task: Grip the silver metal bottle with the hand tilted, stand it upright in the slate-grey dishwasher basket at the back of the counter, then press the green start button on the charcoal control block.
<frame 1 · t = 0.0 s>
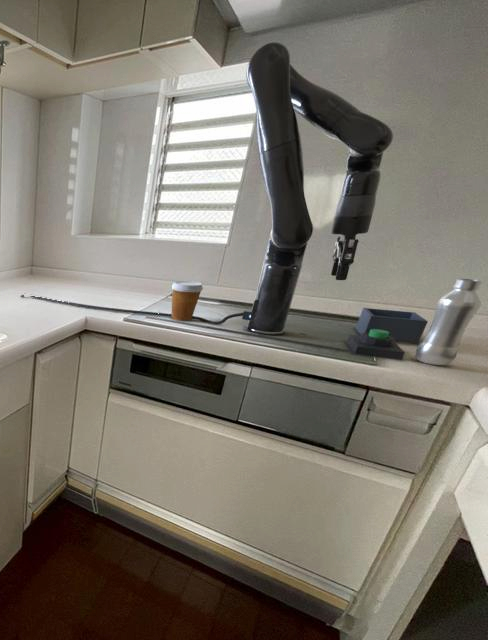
hand: (338, 277, 110), 17 cm above the countertop, tool pointing down, fingers open, 8 cm apart
silver metal bottle: (430, 364, 97), on the countertop
basket: (384, 336, 118), on the countertop
disposable coffee cup: (181, 319, 137), on the countertop
control block: (372, 350, 106), on the countertop
start button: (378, 334, 104), point 5 cm above the countertop, slide at 0.2 cm
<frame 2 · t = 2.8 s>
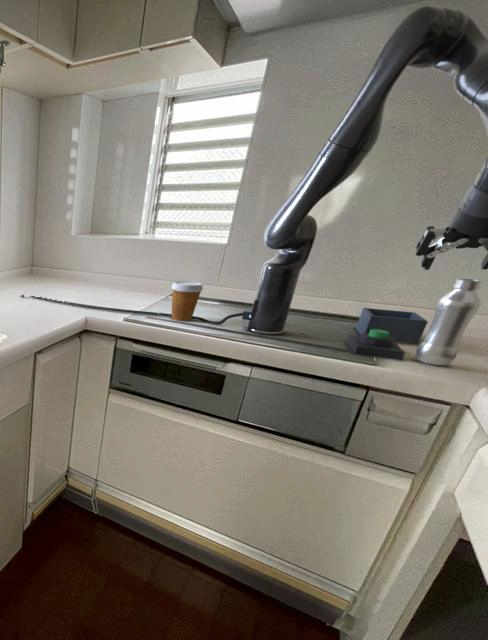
hand: (454, 266, 88), 23 cm above the countertop, tool tilted 40°, fingers open, 8 cm apart
nothing on the countertop moved.
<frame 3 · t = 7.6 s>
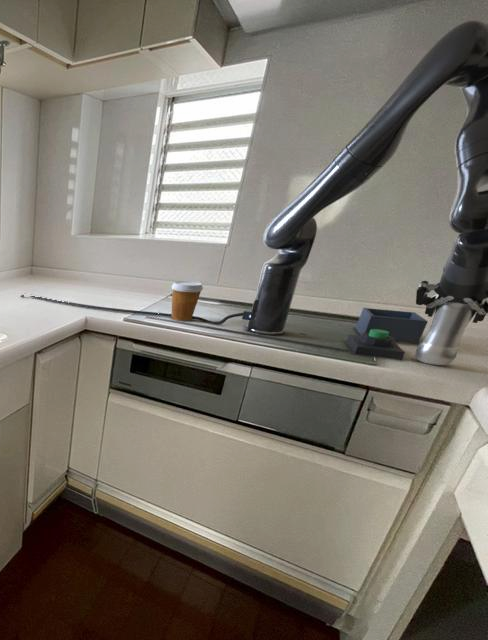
hand: (452, 316, 94), 11 cm above the countertop, tool tilted 45°, fingers closed on silver metal bottle, 6 cm apart
silver metal bottle: (430, 364, 97), on the countertop, touching gripper
everything else where it was.
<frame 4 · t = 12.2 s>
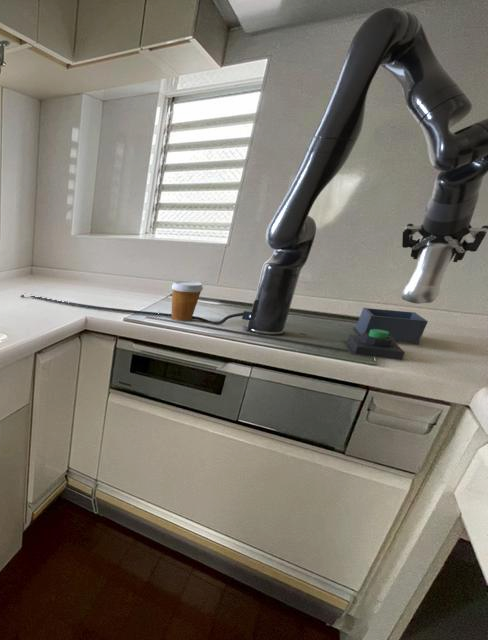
hand: (435, 258, 102), 23 cm above the countertop, tool tilted 45°, fingers closed on silver metal bottle, 6 cm apart
silver metal bottle: (415, 303, 106), point 11 cm above the countertop, touching gripper
everything else where it was.
when the fingers open (12 cm above the countertop, at t = 17.0 s): silver metal bottle stays where it is, resting on basket.
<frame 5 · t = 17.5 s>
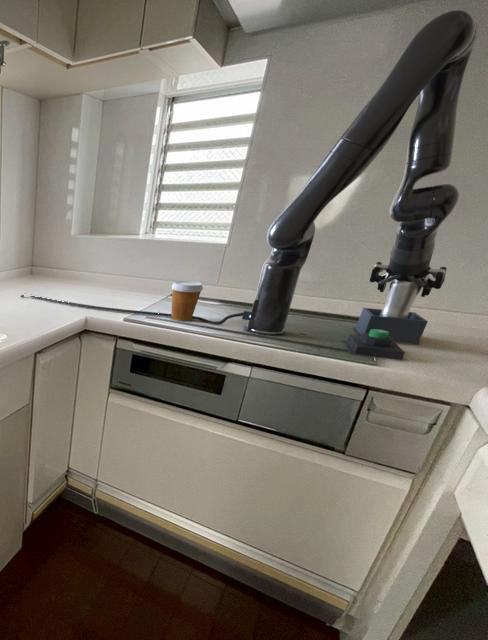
hand: (402, 292, 114), 13 cm above the countertop, tool tilted 45°, fingers open, 8 cm apart
silver metal bottle: (385, 334, 118), resting on basket
everything else where it was.
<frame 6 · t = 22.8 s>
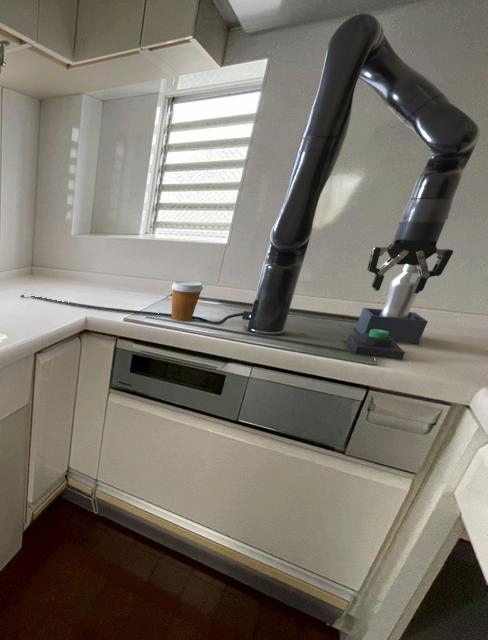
hand: (395, 291, 100), 16 cm above the countertop, tool pointing down, fingers open, 6 cm apart
nothing on the countertop moved.
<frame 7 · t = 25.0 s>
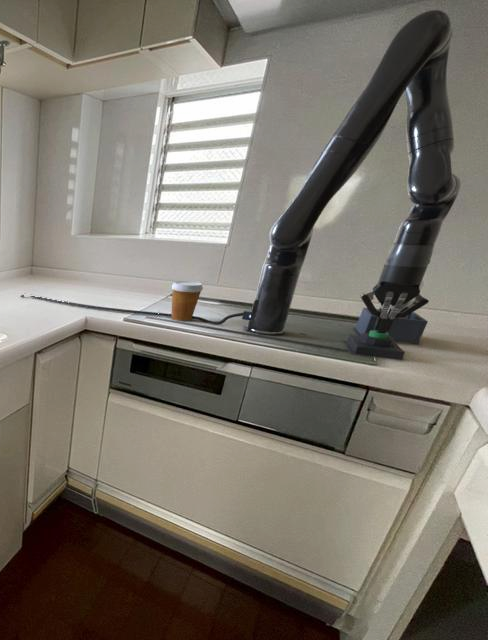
hand: (380, 332, 104), 5 cm above the countertop, tool pointing down, fingers closed
start button: (378, 335, 104), point 4 cm above the countertop, slide at -0.2 cm, touching gripper
everything else where it was.
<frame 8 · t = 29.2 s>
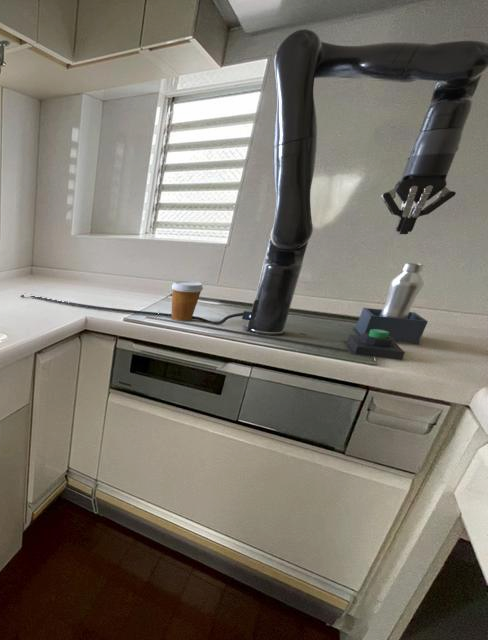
hand: (402, 234, 98), 29 cm above the countertop, tool pointing down, fingers closed
start button: (378, 334, 104), point 5 cm above the countertop, slide at 0.2 cm
everything else where it was.
at the end: silver metal bottle inside the target area in the basket (0.2 cm from its centre), point 0.4 cm above the basket's base; silver metal bottle tilted 0°; start button pushed in 1.2 cm at the most during the clip, back to 0.2 cm at the end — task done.
